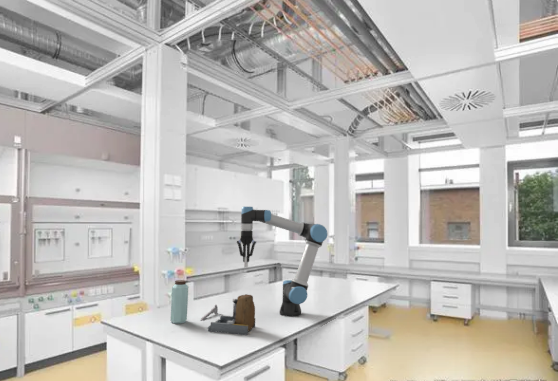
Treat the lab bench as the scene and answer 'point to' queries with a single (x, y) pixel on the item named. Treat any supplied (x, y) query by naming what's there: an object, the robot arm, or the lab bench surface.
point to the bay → (228, 326)
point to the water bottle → (179, 302)
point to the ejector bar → (233, 312)
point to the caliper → (210, 312)
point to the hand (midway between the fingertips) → (246, 267)
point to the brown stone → (245, 311)
